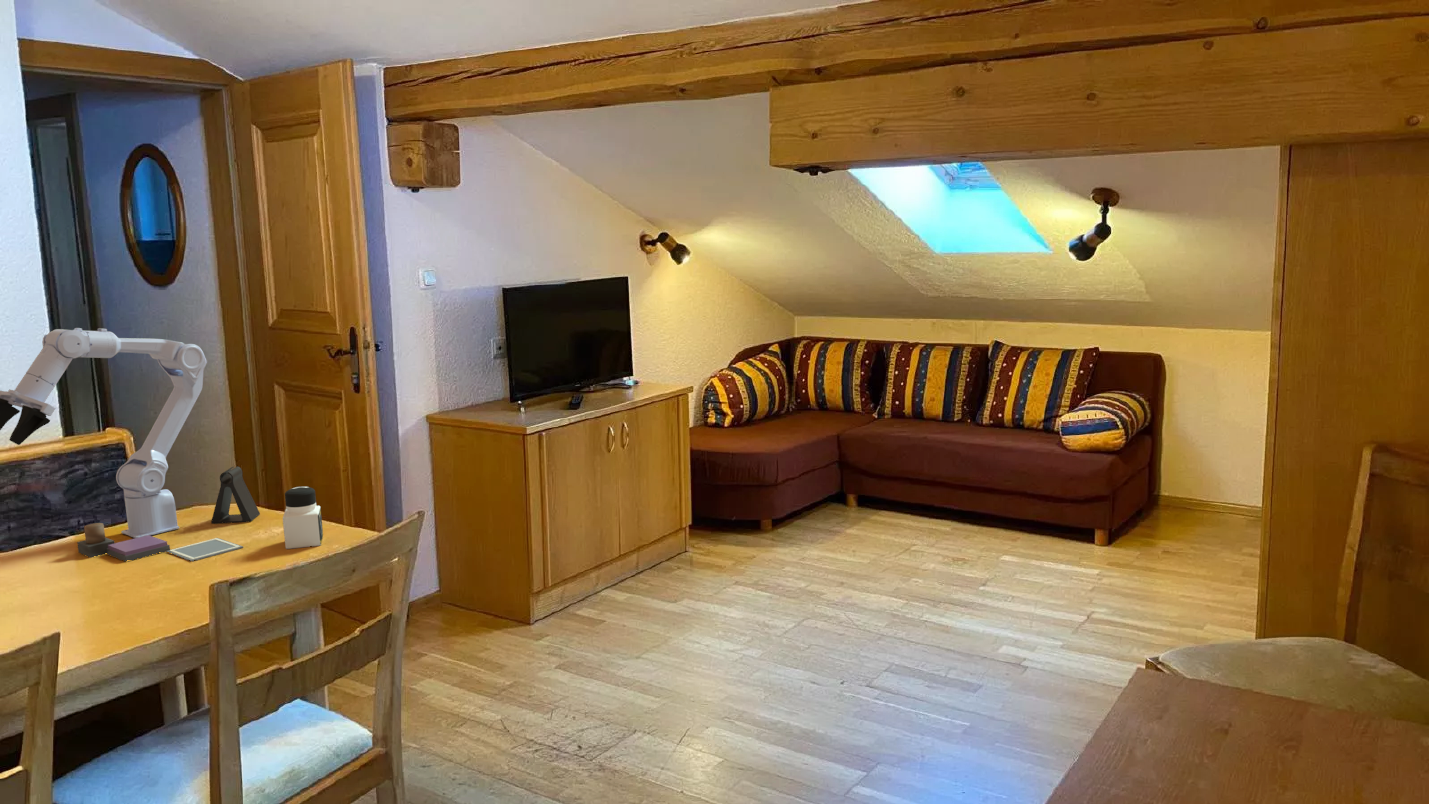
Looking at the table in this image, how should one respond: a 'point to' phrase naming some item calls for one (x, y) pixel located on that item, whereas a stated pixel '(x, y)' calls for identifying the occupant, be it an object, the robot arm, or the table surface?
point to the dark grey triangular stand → (243, 498)
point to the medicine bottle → (302, 519)
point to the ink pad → (137, 548)
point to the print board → (204, 549)
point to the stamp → (94, 541)
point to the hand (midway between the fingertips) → (1, 438)
